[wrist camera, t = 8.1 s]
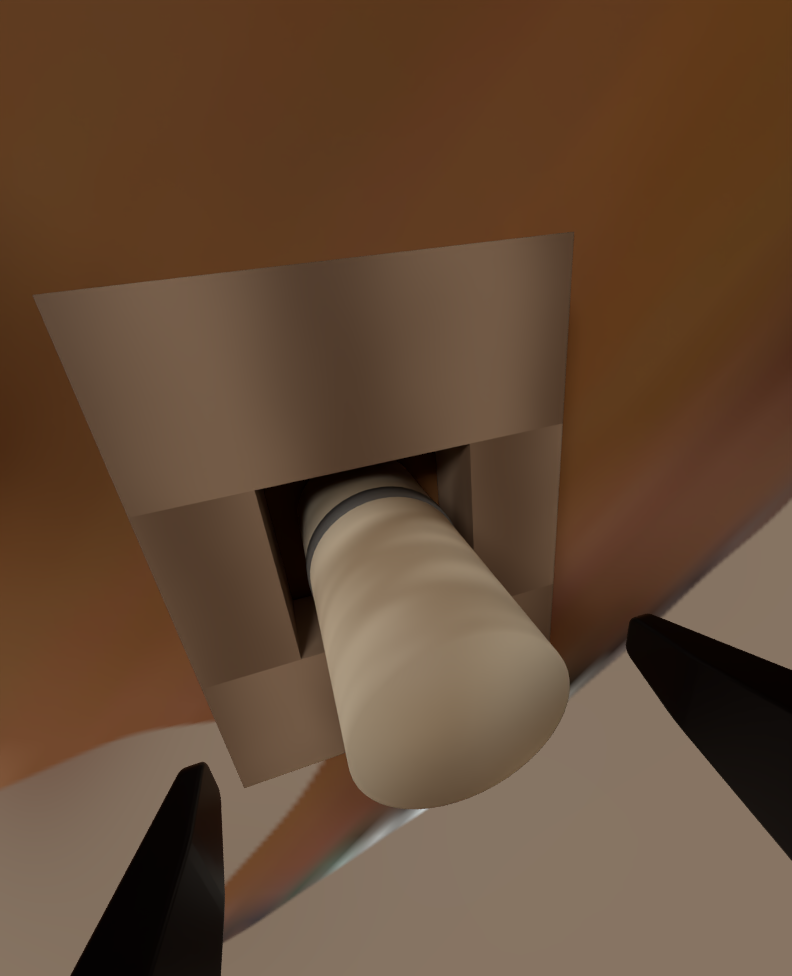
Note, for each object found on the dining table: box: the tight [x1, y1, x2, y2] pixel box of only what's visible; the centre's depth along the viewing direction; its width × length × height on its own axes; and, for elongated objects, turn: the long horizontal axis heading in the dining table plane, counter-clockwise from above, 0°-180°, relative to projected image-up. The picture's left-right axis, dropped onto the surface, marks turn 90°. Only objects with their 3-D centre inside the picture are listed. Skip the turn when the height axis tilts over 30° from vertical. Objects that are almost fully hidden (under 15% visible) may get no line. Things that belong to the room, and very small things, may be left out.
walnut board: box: [33, 232, 574, 788], centre depth 15 cm, size 12×16×3 cm
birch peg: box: [298, 460, 570, 809], centre depth 12 cm, size 4×4×9 cm
